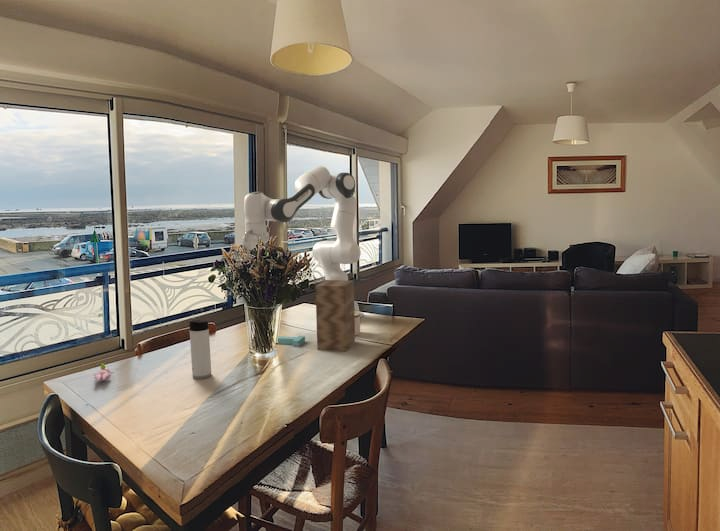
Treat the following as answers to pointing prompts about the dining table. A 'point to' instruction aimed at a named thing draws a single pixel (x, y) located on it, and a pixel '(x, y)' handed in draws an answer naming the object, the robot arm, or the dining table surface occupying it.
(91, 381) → the dining table surface
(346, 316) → the stand
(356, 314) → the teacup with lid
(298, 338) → the t bar
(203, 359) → the travel mug
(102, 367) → the pink flower
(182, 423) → the dining table surface
